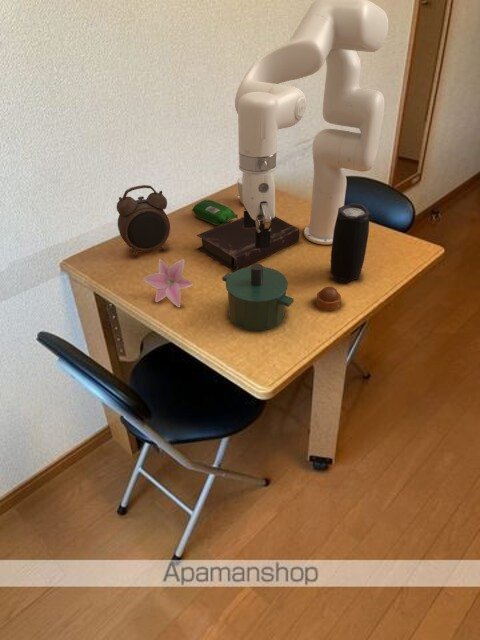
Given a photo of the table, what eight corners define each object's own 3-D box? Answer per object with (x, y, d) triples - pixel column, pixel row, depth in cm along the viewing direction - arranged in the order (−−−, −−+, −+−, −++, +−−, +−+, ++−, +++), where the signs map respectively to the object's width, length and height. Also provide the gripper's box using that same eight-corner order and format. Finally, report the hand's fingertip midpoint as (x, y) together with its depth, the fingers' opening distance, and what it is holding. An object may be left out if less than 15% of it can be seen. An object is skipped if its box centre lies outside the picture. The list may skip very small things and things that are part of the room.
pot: (241, 288, 131) (241, 260, 126) (304, 313, 122) (306, 284, 117) (209, 313, 123) (207, 285, 117) (273, 342, 114) (274, 313, 108)
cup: (257, 212, 166) (257, 189, 161) (234, 210, 167) (233, 187, 162) (262, 198, 174) (262, 176, 169) (240, 196, 176) (240, 175, 171)
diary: (300, 243, 149) (301, 228, 146) (237, 273, 136) (236, 258, 133) (257, 222, 160) (258, 207, 157) (196, 248, 148) (195, 233, 144)
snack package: (223, 231, 156) (223, 216, 152) (190, 216, 164) (189, 201, 161) (239, 224, 160) (239, 209, 156) (205, 209, 168) (205, 195, 165)
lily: (142, 294, 131) (133, 277, 122) (172, 263, 134) (166, 245, 126) (175, 320, 128) (168, 306, 119) (205, 289, 131) (201, 272, 122)
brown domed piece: (331, 294, 128) (333, 279, 125) (344, 307, 124) (346, 291, 121) (311, 300, 126) (312, 284, 123) (323, 313, 122) (325, 297, 119)
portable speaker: (324, 281, 133) (331, 214, 121) (334, 264, 140) (342, 199, 128) (356, 288, 130) (366, 220, 118) (365, 270, 137) (375, 204, 125)
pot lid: (249, 264, 125) (249, 244, 122) (299, 282, 119) (300, 262, 115) (213, 291, 116) (212, 270, 113) (265, 313, 109) (265, 292, 106)
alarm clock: (127, 262, 142) (115, 197, 130) (121, 250, 147) (109, 186, 135) (175, 251, 147) (168, 187, 134) (168, 240, 152) (160, 177, 139)
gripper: (288, 174, 93) (284, 253, 104) (263, 144, 107) (262, 217, 117) (250, 178, 92) (249, 258, 102) (229, 148, 105) (231, 221, 116)
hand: (256, 236), depth 110 cm, fingers open, 9 cm apart
